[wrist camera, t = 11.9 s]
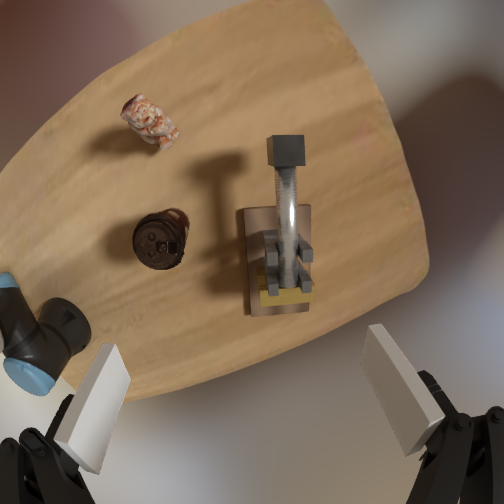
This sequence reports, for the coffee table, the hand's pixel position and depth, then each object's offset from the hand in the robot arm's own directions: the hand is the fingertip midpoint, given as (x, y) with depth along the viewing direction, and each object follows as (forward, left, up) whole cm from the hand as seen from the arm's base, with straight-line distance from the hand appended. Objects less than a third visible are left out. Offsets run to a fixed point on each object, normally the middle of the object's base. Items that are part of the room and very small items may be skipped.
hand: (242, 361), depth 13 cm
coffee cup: (-12, -2, -39) cm, 41 cm away
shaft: (+7, +1, -31) cm, 32 cm away
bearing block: (+7, -11, -39) cm, 41 cm away
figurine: (-12, +16, -39) cm, 44 cm away
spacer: (+7, -13, -37) cm, 40 cm away
